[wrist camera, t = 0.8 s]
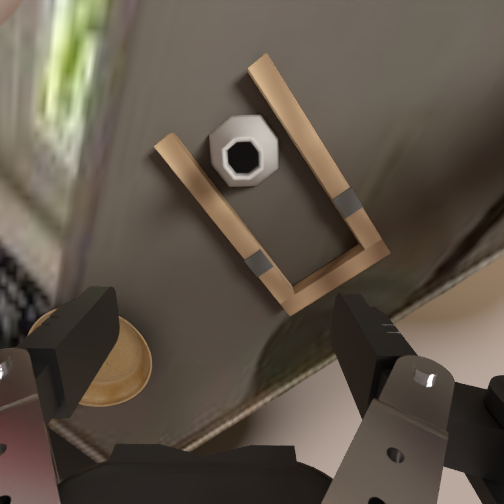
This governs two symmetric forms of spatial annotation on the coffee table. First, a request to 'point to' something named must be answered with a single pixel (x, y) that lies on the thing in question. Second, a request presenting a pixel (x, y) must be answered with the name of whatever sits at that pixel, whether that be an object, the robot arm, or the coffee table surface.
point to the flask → (244, 150)
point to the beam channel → (326, 174)
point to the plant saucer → (118, 368)
